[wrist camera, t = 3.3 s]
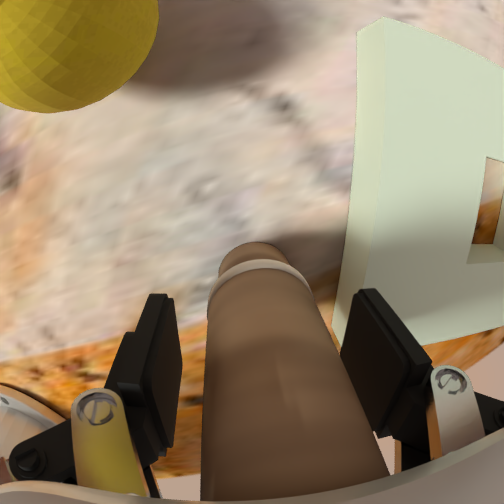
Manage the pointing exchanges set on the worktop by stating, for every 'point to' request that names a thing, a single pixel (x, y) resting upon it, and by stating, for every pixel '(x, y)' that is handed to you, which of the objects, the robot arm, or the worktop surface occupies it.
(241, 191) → the worktop surface
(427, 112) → the board
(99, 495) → the robot arm
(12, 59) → the lemon
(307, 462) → the peg
